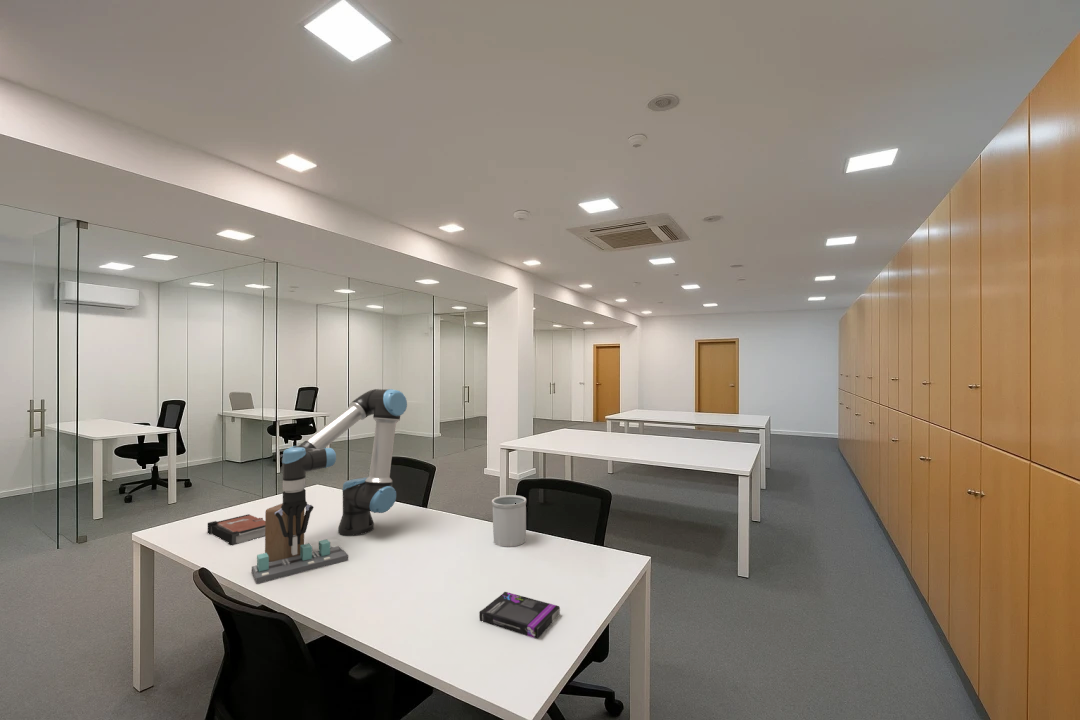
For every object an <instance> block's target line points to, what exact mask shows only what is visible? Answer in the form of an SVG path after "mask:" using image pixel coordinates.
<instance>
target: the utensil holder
mask: <svg viewBox="0 0 1080 720" xmlns="http://www.w3.org/2000/svg"><path fill="white" fill-rule="evenodd" d="M515 503H516V504H515ZM526 505H527V498H526V497H524V496H522V495H515V494H513V495H512V494H507V495H500V496H497V497H495V498H493V499H492V500H491V506H492V529H493V530H492V533H493V544H495V545H496V546H500V547H504V548H505V547H507V548H508V547H509V548H510V547H518V546H521V545H523V544H524V543H526V541H527V507H526Z"/></svg>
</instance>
